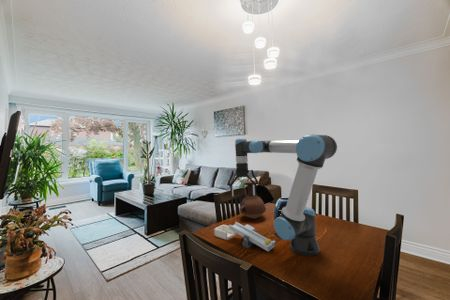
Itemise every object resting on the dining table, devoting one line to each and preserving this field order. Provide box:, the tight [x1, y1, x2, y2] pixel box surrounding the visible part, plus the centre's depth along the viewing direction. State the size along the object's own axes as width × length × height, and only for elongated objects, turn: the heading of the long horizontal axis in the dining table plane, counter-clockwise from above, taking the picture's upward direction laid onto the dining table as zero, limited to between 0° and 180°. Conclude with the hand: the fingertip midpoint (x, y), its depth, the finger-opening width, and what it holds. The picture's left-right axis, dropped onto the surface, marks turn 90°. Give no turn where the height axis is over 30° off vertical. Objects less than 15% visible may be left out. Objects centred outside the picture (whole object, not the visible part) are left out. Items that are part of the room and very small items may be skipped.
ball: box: [265, 238, 272, 246], centre depth 112 cm, size 4×4×4 cm
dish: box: [213, 224, 237, 241], centre depth 133 cm, size 11×10×4 cm
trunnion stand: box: [242, 230, 258, 249], centre depth 120 cm, size 4×11×6 cm, turn 139°
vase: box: [239, 180, 267, 220], centre depth 162 cm, size 25×20×30 cm
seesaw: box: [228, 221, 276, 252], centre depth 122 cm, size 28×13×3 cm, turn 49°
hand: (243, 195), depth 130 cm, fingers open, 13 cm apart
